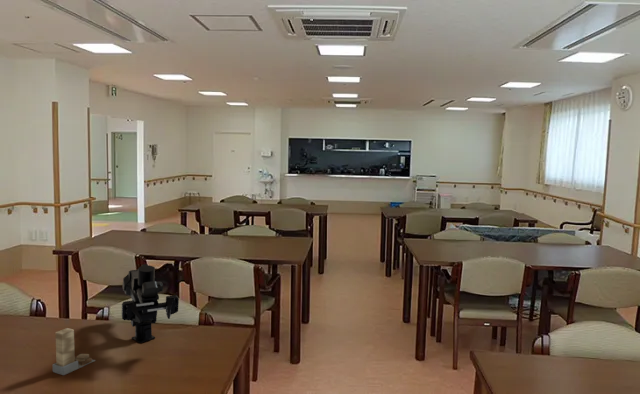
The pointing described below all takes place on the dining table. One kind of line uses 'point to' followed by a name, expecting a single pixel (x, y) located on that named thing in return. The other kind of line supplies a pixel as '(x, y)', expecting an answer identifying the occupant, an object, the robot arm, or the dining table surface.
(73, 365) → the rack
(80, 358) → the offcut top
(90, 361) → the offcut low
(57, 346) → the tan wooden block
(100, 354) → the dining table surface
